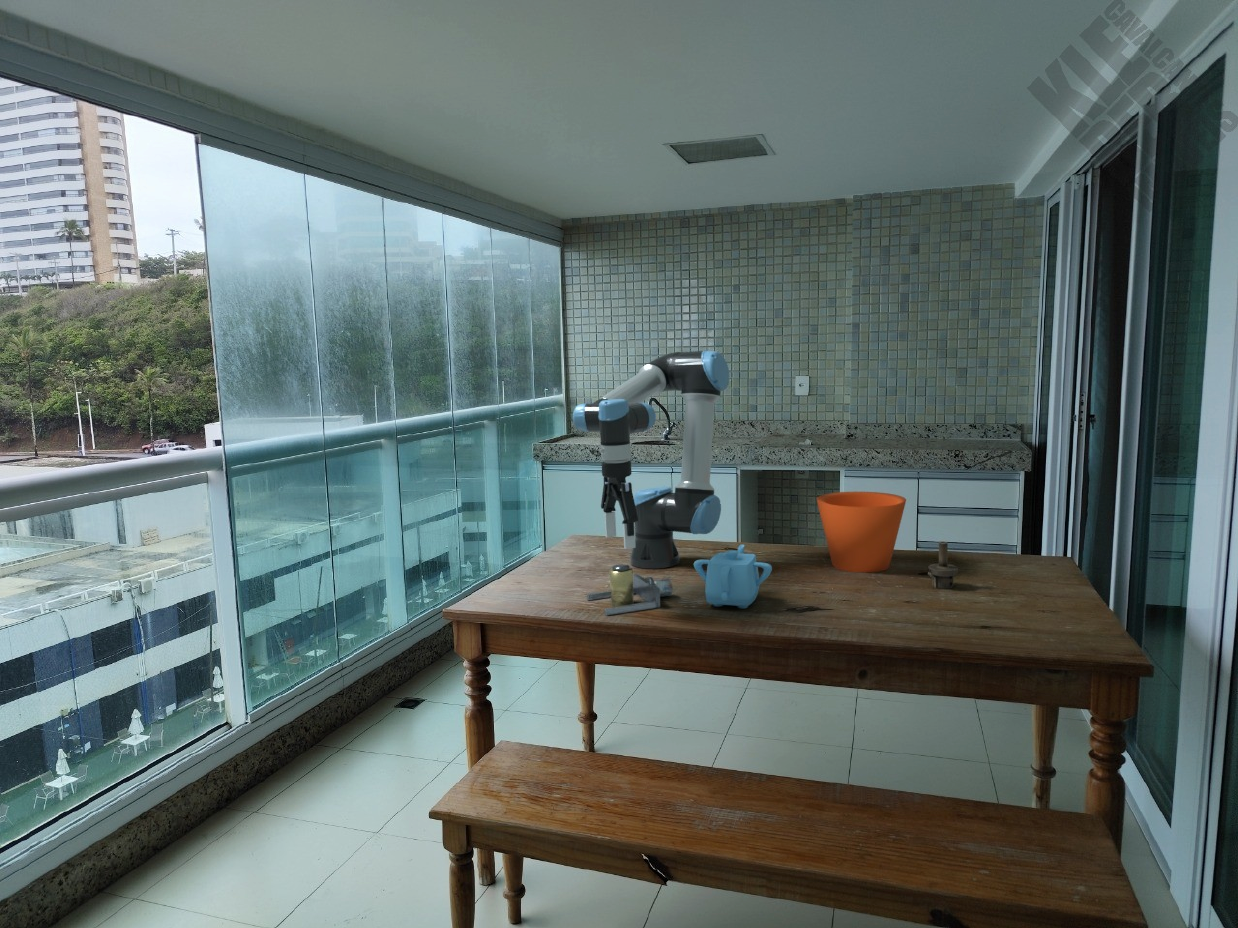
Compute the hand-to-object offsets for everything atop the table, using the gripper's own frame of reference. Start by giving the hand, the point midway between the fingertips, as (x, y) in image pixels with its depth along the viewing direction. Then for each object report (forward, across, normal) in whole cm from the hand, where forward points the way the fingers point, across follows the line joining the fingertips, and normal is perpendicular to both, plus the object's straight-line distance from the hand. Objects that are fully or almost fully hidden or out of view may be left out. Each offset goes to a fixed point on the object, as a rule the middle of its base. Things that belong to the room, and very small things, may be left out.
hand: (620, 542), depth 212 cm
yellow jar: (+16, 0, 0) cm, 16 cm away
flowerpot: (+18, -2, +75) cm, 77 cm away
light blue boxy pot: (+17, +11, +26) cm, 33 cm away
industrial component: (+17, +26, +80) cm, 86 cm away
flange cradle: (+16, 0, +3) cm, 16 cm away
